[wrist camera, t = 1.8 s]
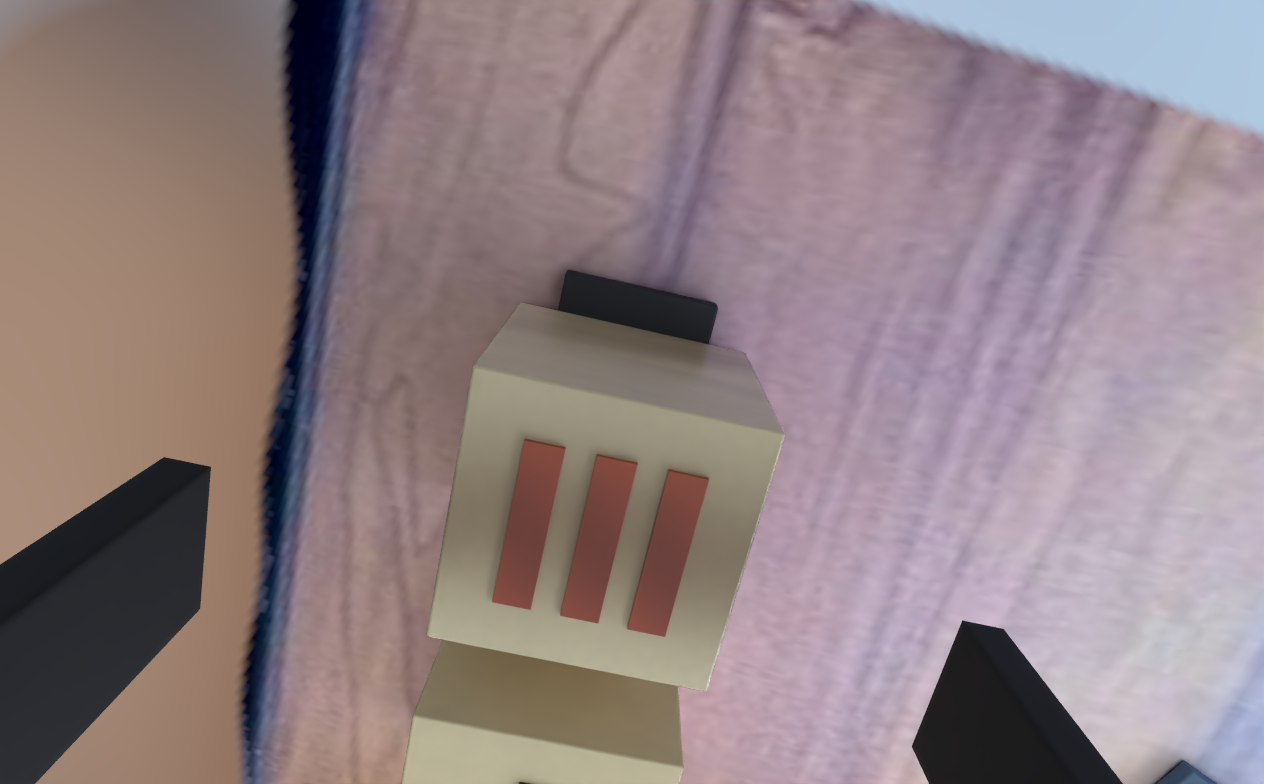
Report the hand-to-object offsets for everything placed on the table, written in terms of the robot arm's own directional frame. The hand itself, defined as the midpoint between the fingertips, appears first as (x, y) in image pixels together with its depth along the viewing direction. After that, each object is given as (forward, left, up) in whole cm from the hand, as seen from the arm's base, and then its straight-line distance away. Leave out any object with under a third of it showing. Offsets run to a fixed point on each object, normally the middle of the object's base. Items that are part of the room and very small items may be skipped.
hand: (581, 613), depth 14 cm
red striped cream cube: (0, 0, -8) cm, 8 cm away
